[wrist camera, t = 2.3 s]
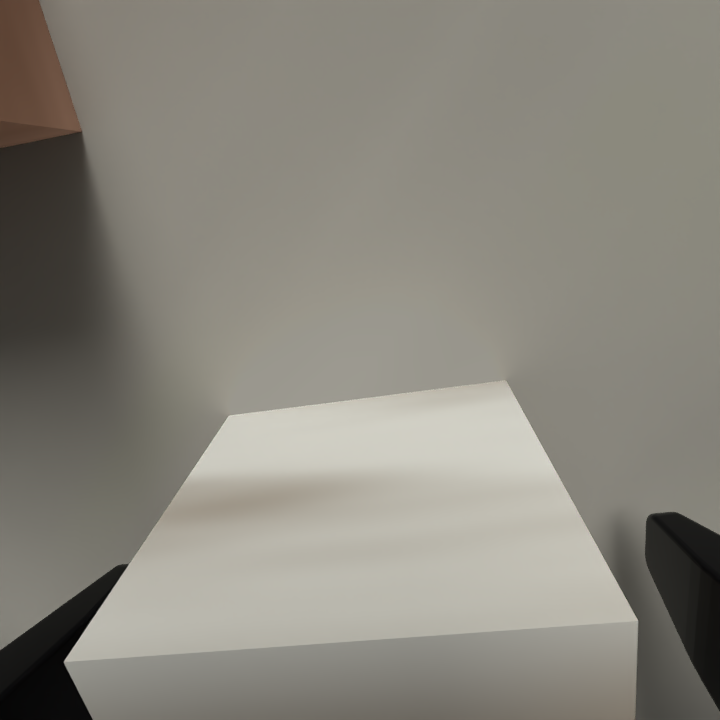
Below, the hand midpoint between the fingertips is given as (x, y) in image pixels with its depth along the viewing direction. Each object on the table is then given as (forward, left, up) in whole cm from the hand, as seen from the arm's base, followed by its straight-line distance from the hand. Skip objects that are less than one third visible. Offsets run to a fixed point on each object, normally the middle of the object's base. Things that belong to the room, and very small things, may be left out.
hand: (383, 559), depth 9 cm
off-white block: (0, 0, -1) cm, 1 cm away
